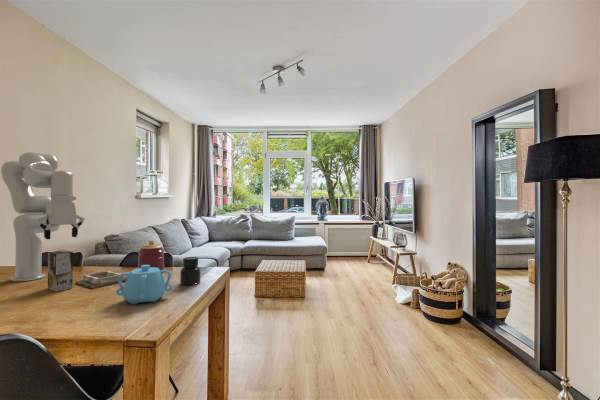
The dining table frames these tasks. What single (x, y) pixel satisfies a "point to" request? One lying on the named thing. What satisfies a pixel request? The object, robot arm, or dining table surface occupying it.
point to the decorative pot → (144, 285)
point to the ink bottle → (190, 271)
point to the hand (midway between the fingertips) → (61, 238)
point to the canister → (151, 255)
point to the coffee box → (60, 270)
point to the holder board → (100, 279)
